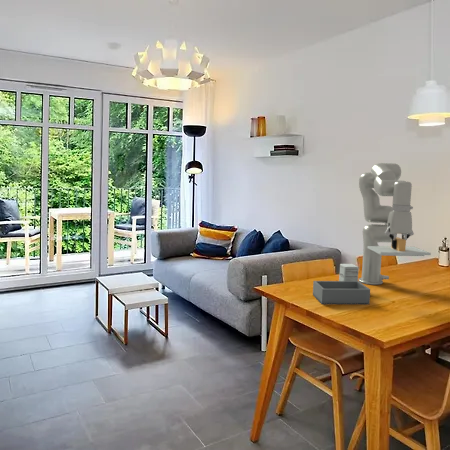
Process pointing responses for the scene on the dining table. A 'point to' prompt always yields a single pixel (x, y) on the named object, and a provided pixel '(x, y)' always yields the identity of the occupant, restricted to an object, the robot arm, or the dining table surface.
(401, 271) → the dining table surface
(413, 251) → the lid
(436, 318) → the dining table surface
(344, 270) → the supplement box
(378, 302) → the dining table surface
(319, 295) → the tub
